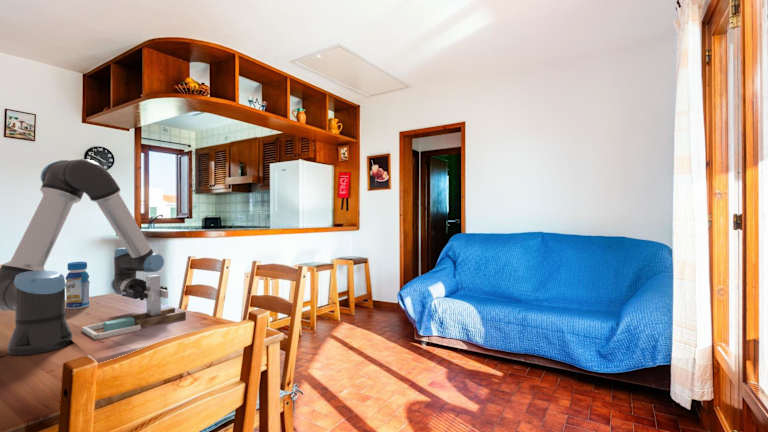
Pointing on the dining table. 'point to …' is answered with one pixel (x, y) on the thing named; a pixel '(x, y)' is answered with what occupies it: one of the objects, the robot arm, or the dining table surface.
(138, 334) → the dining table surface
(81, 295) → the blue pill bottle
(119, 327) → the teal cube
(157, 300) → the brushed metal bar
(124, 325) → the teal block
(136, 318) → the channel
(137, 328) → the tray
